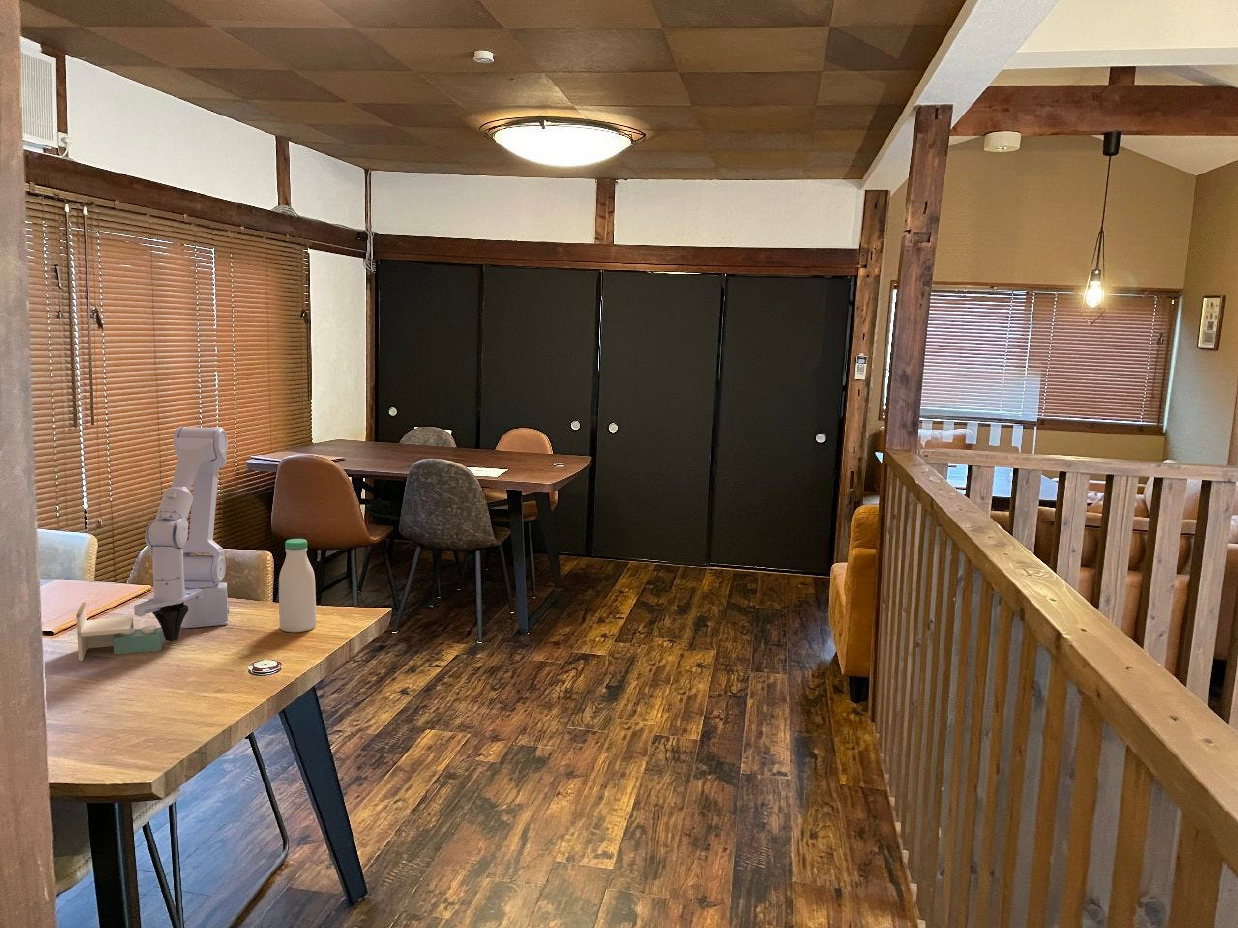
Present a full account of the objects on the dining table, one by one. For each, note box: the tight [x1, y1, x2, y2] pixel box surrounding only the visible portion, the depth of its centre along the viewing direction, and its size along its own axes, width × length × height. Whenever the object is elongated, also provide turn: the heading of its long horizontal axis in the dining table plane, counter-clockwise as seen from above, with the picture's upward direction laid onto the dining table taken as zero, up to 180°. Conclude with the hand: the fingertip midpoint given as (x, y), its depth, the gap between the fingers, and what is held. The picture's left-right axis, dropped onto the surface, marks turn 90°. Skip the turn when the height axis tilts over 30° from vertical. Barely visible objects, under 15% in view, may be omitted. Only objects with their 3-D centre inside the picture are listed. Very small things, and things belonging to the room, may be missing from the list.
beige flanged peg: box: [75, 602, 135, 662], centre depth 183 cm, size 9×8×10 cm
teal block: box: [113, 625, 165, 655], centre depth 186 cm, size 8×4×4 cm, turn 110°
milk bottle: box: [278, 538, 317, 633], centre depth 200 cm, size 8×8×20 cm
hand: (171, 640), depth 188 cm, fingers closed
